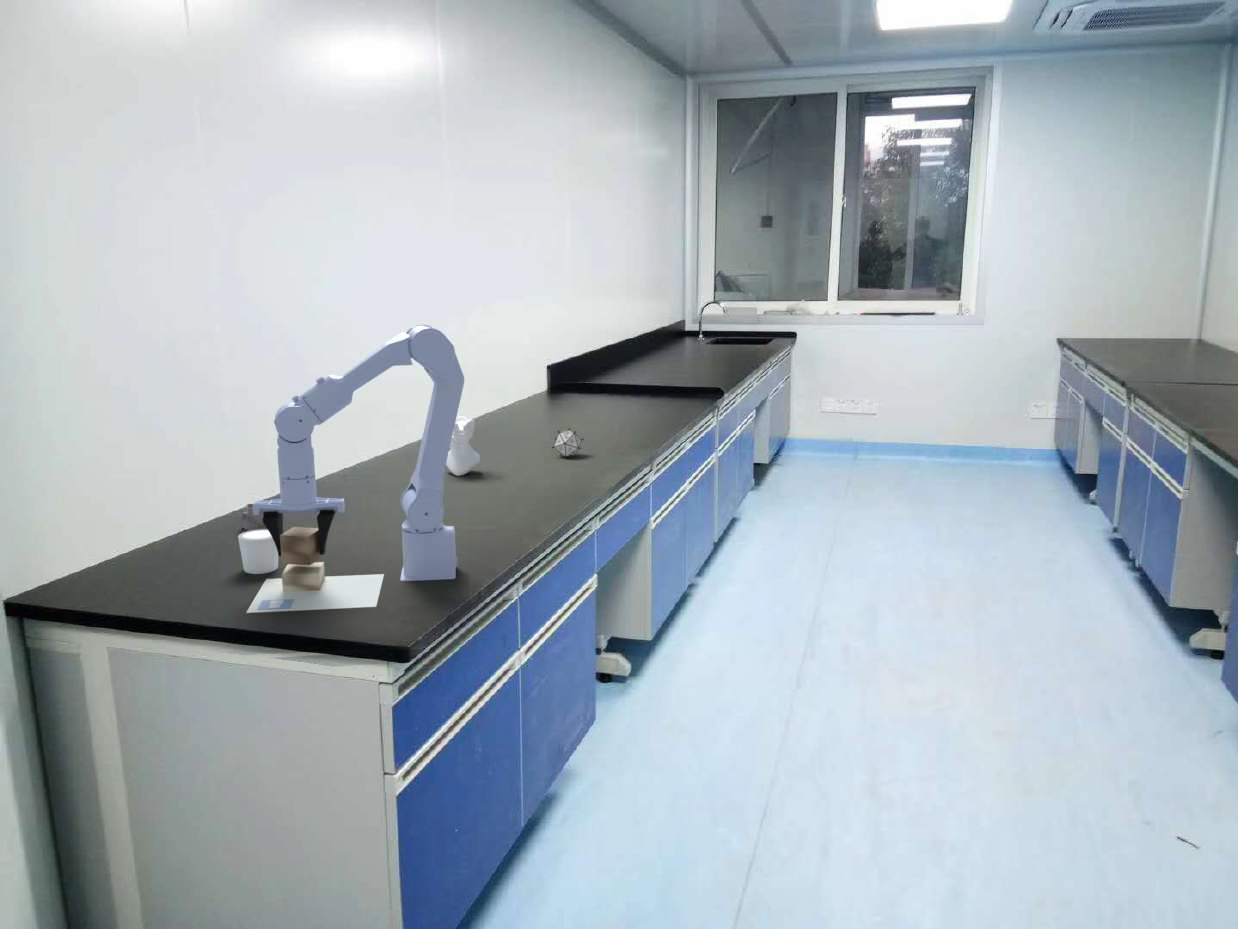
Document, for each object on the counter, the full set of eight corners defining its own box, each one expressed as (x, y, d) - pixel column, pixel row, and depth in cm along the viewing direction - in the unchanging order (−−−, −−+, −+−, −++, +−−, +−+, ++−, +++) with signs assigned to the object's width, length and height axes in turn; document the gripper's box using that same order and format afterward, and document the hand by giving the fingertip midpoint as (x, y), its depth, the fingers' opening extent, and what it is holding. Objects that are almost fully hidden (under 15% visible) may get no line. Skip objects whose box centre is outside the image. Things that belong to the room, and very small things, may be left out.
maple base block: (324, 578, 166) (323, 562, 166) (319, 590, 160) (318, 573, 160) (289, 579, 165) (288, 563, 165) (282, 591, 159) (281, 574, 159)
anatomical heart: (483, 471, 251) (482, 414, 248) (472, 480, 240) (471, 422, 237) (447, 469, 252) (445, 413, 249) (435, 479, 241) (433, 421, 238)
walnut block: (322, 556, 164) (321, 528, 163) (310, 565, 159) (308, 536, 158) (295, 554, 165) (293, 526, 163) (281, 563, 160) (279, 535, 159)
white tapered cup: (286, 565, 175) (284, 528, 173) (274, 577, 168) (271, 539, 166) (248, 565, 174) (245, 528, 173) (235, 577, 168) (232, 539, 166)
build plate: (384, 576, 169) (384, 573, 169) (376, 609, 153) (376, 605, 153) (266, 581, 166) (266, 578, 166) (246, 615, 150) (245, 611, 150)
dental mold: (240, 534, 193) (238, 511, 192) (243, 525, 200) (241, 502, 199) (281, 532, 195) (280, 508, 194) (283, 523, 202) (282, 500, 201)
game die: (574, 470, 269) (591, 445, 264) (547, 462, 266) (563, 436, 260) (571, 449, 276) (587, 425, 270) (544, 441, 272) (560, 416, 267)
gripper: (345, 469, 164) (349, 545, 167) (256, 471, 161) (262, 548, 164) (339, 478, 157) (344, 557, 160) (247, 481, 155) (253, 561, 158)
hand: (302, 553), depth 162 cm, fingers closed on walnut block, 6 cm apart
